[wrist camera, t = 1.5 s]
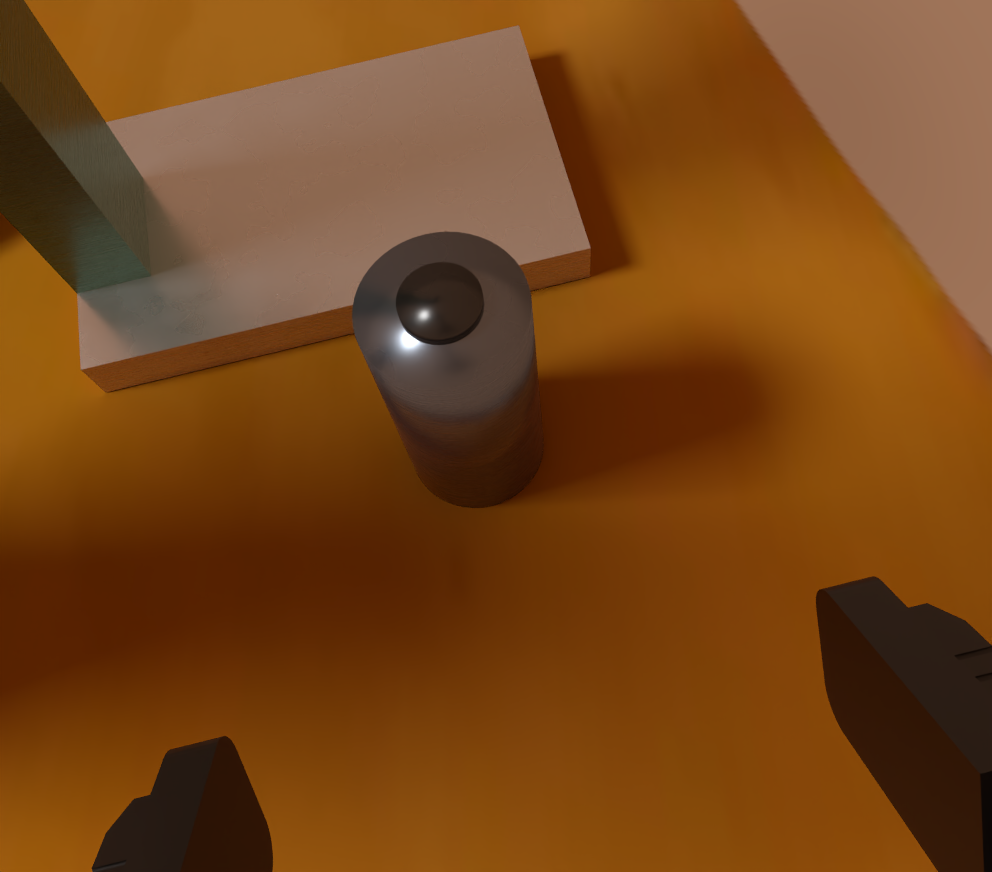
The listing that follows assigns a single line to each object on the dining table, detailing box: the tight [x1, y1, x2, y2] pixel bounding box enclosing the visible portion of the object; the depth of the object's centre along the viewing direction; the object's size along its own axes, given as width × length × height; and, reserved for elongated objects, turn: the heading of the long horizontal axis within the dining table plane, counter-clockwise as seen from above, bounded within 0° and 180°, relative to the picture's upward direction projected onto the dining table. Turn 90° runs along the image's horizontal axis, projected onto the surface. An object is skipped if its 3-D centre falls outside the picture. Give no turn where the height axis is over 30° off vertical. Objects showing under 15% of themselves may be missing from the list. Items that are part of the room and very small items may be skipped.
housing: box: [352, 232, 544, 508], centre depth 30 cm, size 5×5×10 cm
